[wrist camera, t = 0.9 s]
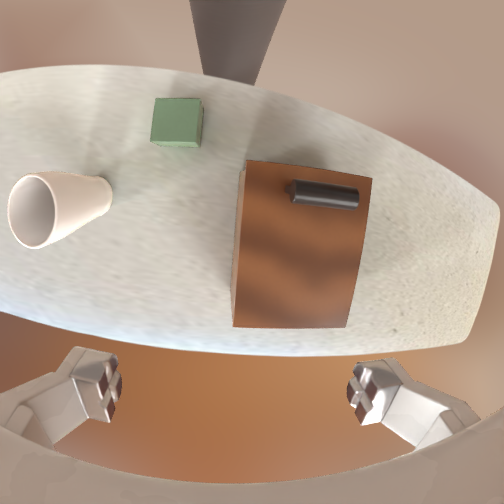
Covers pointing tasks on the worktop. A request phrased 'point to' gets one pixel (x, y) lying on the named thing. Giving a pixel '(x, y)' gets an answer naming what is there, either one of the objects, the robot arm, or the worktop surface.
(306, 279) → the lid
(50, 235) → the white tapered cylinder
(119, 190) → the worktop surface
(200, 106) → the block
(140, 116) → the worktop surface
